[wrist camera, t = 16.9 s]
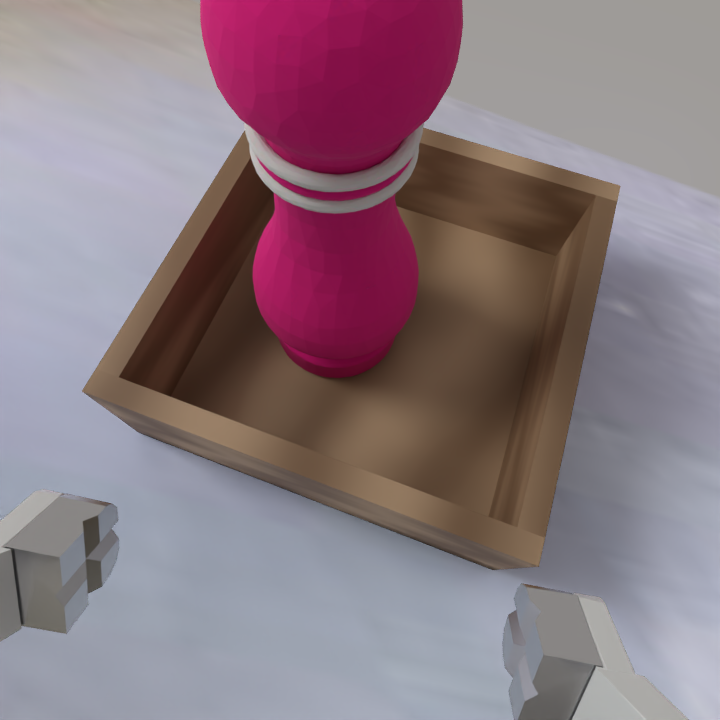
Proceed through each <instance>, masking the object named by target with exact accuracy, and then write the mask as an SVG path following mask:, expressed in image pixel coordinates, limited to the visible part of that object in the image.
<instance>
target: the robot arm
mask: <svg viewBox="0 0 720 720" xmlns="http://www.w3.org/2000/svg"><path fill="white" fill-rule="evenodd" d="M117 521H118V512H117V507H116V506H115V505H113V504H111V503H107V502H102V501H98V500H93V499H89V498H84V497H80V496H75V495H71V494H63V493H59V492H54V491H50V490H46V489H41V490H38V491H35V492H34V493H32V494H31V495H30V496H29V497H28V498H27V499H25V500H24V501H23V502H22V503H21V504H20V505H18V506H17V507H16V508H15V509H14V510H13V511H11V512H10V513H9V514H8V515H7V516H6V517H4V518H3V519H2V520H1V521H0V642H1V641H2V640H4V639H6V638H7V637H9V636H10V635H12V634H14V633H15V632H17V631H18V630H20V629H21V628H22V627H21V626H25V627H31V628H37V629H43V630H48V631H54V632H60V633H65V634H67V633H68V631H69V630H70V629H71V627H72V626H73V625H74V623H75V622H76V621H77V619H78V618H79V617H80V615H81V614H82V613H83V611H84V610H85V609H86V607H87V606H88V593H90V592H92V591H94V590H96V589H98V588H100V587H102V586H103V584H104V583H105V581H106V580H107V579H108V577H109V576H110V574H111V572H112V570H113V567H114V565H115V563H116V561H117V556H118V551H119V538H118V537H117V535H116V534H115V532H114V531H113V530H112V527H113V526H114V525H115V524H116V523H117ZM514 601H515V606H516V610H515V611H514V612H512V613H511V614H509V615H508V617H507V620H506V624H505V627H504V633H503V642H502V646H503V659H504V666H505V669H506V670H507V671H508V673H509V674H510V675H511V676H512V678H513V680H512V683H511V685H510V688H509V695H510V701H511V707H512V712H513V718H514V720H689V719H688V718H687V717H686V716H684V715H683V714H682V713H681V712H680V711H679V710H678V709H677V708H676V707H675V706H674V705H673V704H672V703H671V702H670V701H669V700H668V699H667V698H666V697H665V696H664V695H663V694H662V693H661V692H660V691H659V690H658V689H657V688H656V687H655V686H653V685H652V684H651V683H650V682H649V681H648V680H647V679H646V678H645V677H644V676H641V675H636V674H635V672H634V670H633V667H632V665H631V663H630V660H629V658H628V656H627V653H626V651H625V649H624V646H623V644H622V642H621V639H620V637H619V635H618V632H617V630H616V628H615V625H614V623H613V621H612V618H611V616H610V614H609V611H608V609H607V607H606V604H605V602H604V601H603V600H602V599H601V598H600V597H595V596H590V595H584V594H578V593H570V592H565V591H560V590H554V589H549V588H544V587H538V586H533V585H528V584H522V583H521V584H520V586H519V587H518V588H517V591H516V594H515V597H514Z"/></svg>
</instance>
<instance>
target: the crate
mask: <svg viewBox="0 0 720 720" xmlns="http://www.w3.org/2000/svg"><path fill="white" fill-rule="evenodd" d="M619 190H620V186H619V185H616V184H612V183H609V182H606V181H602V180H599V179H595V178H592V177H589V176H585V175H582V174H579V173H575V172H572V171H568V170H565V169H562V168H558V167H555V166H551V165H548V164H545V163H541V162H538V161H534V160H531V159H528V158H524V157H521V156H517V155H514V154H511V153H507V152H504V151H500V150H497V149H494V148H490V147H487V146H483V145H480V144H477V143H473V142H470V141H466V140H463V139H460V138H456V137H453V136H449V135H446V134H443V133H439V132H436V131H432V130H429V129H426V128H423V133H422V137H421V140H420V143H419V153H418V159H417V163H416V165H415V168H414V170H413V172H412V174H411V176H410V178H409V179H408V180H407V181H406V183H405V184H404V185H403V186H402V188H401V189H400V190H399V191H398V192H396V193H395V202H396V207H397V209H398V211H399V214H400V216H401V218H402V220H403V222H404V224H405V226H406V228H407V229H408V231H409V233H410V235H411V237H412V241H413V244H414V247H415V252H416V256H417V261H418V268H419V277H418V289H417V296H416V301H415V305H414V308H413V310H412V313H411V315H410V317H409V319H408V320H407V322H406V323H405V325H404V326H403V328H402V329H401V330H400V331H399V332H398V334H397V335H396V336H395V339H394V342H393V344H392V346H391V348H390V350H389V352H388V353H387V354H386V356H385V357H384V358H383V359H382V360H381V361H380V362H379V363H378V364H376V365H375V366H374V367H372V368H371V369H369V370H367V371H365V372H363V373H361V374H358V375H355V376H351V377H343V378H330V377H323V376H319V375H315V374H313V373H310V372H308V371H306V370H304V369H303V368H301V367H300V366H298V365H297V364H295V363H294V362H293V361H292V360H291V359H290V358H289V356H288V355H287V354H286V352H285V351H284V349H283V347H282V346H281V344H280V341H279V339H278V337H277V336H276V335H275V333H274V332H273V331H272V330H271V329H270V328H269V326H268V325H267V323H266V322H265V320H264V318H263V317H262V315H261V313H260V310H259V308H258V305H257V302H256V297H255V291H254V284H253V264H254V259H255V254H256V250H257V246H258V242H259V240H260V238H261V235H262V233H263V231H264V229H265V227H266V226H267V224H268V223H269V221H270V219H271V218H272V216H273V214H274V211H275V203H274V192H273V191H272V190H271V189H270V188H269V187H267V186H266V185H265V184H264V182H263V181H262V180H261V178H260V177H259V175H258V174H257V172H256V170H255V167H254V165H253V162H252V159H251V155H250V148H249V142H248V140H247V137H246V133H245V131H244V132H243V134H242V136H241V137H240V139H239V140H238V142H237V144H236V145H235V147H234V148H233V150H232V152H231V153H230V155H229V156H228V158H227V160H226V161H225V163H224V164H223V166H222V168H221V169H220V171H219V172H218V174H217V176H216V177H215V179H214V180H213V182H212V184H211V185H210V187H209V188H208V190H207V192H206V193H205V195H204V196H203V198H202V200H201V201H200V203H199V204H198V206H197V208H196V209H195V211H194V212H193V214H192V216H191V217H190V219H189V220H188V222H187V224H186V225H185V227H184V229H183V230H182V232H181V233H180V235H179V237H178V238H177V240H176V241H175V243H174V245H173V246H172V248H171V249H170V251H169V253H168V254H167V256H166V257H165V259H164V261H163V262H162V264H161V265H160V267H159V269H158V270H157V272H156V273H155V275H154V277H153V278H152V280H151V281H150V283H149V285H148V286H147V288H146V289H145V291H144V293H143V294H142V296H141V297H140V299H139V301H138V302H137V304H136V305H135V307H134V309H133V310H132V312H131V313H130V315H129V317H128V318H127V320H126V321H125V323H124V325H123V326H122V328H121V329H120V331H119V333H118V334H117V336H116V337H115V339H114V341H113V342H112V344H111V345H110V347H109V349H108V350H107V352H106V353H105V355H104V357H103V358H102V360H101V361H100V363H99V365H98V366H97V368H96V369H95V371H94V373H93V374H92V376H91V377H90V379H89V381H88V382H87V384H86V385H85V387H84V389H83V390H82V392H84V393H85V394H86V395H88V396H89V397H91V398H92V399H93V400H95V401H96V402H97V403H99V404H100V405H102V406H103V407H104V408H106V409H107V410H109V411H110V412H111V413H113V414H114V415H115V416H117V417H118V418H120V419H121V420H122V421H124V422H125V423H126V424H128V425H129V426H131V427H132V428H133V429H135V430H136V431H137V432H139V433H141V434H144V435H147V436H149V437H152V438H154V439H157V440H159V441H162V442H165V443H167V444H170V445H172V446H175V447H177V448H180V449H183V450H185V451H188V452H190V453H193V454H196V455H198V456H201V457H203V458H206V459H208V460H211V461H214V462H216V463H219V464H221V465H224V466H226V467H229V468H232V469H234V470H237V471H239V472H242V473H244V474H247V475H250V476H252V477H255V478H257V479H260V480H262V481H265V482H268V483H270V484H273V485H275V486H278V487H280V488H283V489H286V490H288V491H291V492H293V493H296V494H299V495H301V496H304V497H306V498H309V499H311V500H314V501H317V502H319V503H322V504H324V505H327V506H329V507H332V508H335V509H337V510H340V511H342V512H345V513H347V514H350V515H353V516H355V517H358V518H360V519H363V520H365V521H368V522H371V523H373V524H376V525H378V526H381V527H383V528H386V529H389V530H391V531H394V532H396V533H399V534H402V535H404V536H407V537H409V538H412V539H414V540H417V541H420V542H422V543H425V544H427V545H430V546H432V547H435V548H438V549H440V550H443V551H445V552H448V553H450V554H453V555H456V556H458V557H461V558H463V559H466V560H468V561H471V562H474V563H476V564H479V565H481V566H484V567H486V568H489V569H492V570H499V569H512V568H526V567H539V563H540V559H541V554H542V549H543V545H544V540H545V536H546V531H547V526H548V522H549V517H550V512H551V508H552V503H553V498H554V494H555V489H556V484H557V480H558V475H559V470H560V466H561V461H562V456H563V452H564V447H565V442H566V438H567V433H568V428H569V424H570V419H571V414H572V410H573V405H574V400H575V396H576V391H577V386H578V382H579V377H580V372H581V368H582V363H583V358H584V354H585V349H586V344H587V340H588V335H589V330H590V326H591V321H592V316H593V312H594V307H595V302H596V298H597V293H598V288H599V284H600V279H601V274H602V270H603V265H604V260H605V256H606V251H607V246H608V242H609V237H610V232H611V228H612V223H613V218H614V214H615V209H616V204H617V200H618V195H619Z"/></svg>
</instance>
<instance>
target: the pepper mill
mask: <svg viewBox="0 0 720 720" xmlns="http://www.w3.org/2000/svg"><path fill="white" fill-rule="evenodd" d="M200 17H201V28H202V36H203V41H204V46H205V49H206V53H207V57H208V60H209V64H210V67H211V70H212V73H213V76H214V78H215V81H216V84H217V87H218V88H219V90H220V92H221V93H222V95H223V96H224V98H225V100H226V101H227V103H228V104H229V106H230V107H231V108H232V109H233V110H234V112H235V113H236V114H237V115H238V117H239V118H240V119H241V120H242V121H244V127H245V133H246V137H247V140H248V142H249V148H250V155H251V159H252V162H253V165H254V167H255V170H256V172H257V174H258V175H259V177H260V178H261V180H262V181H263V182H264V184H265V185H266V186H267V187H269V188H270V189H271V190H272V191H273V192H274V203H275V211H274V214H273V216H272V218H271V219H270V221H269V223H268V224H267V226H266V227H265V229H264V231H263V233H262V235H261V238H260V240H259V242H258V246H257V250H256V254H255V259H254V264H253V284H254V291H255V297H256V302H257V305H258V308H259V310H260V313H261V315H262V317H263V318H264V320H265V322H266V323H267V325H268V326H269V328H270V329H271V330H272V331H273V332H274V333H275V335H276V336H277V337H278V339H279V341H280V344H281V346H282V347H283V349H284V351H285V352H286V354H287V355H288V356H289V358H290V359H291V360H292V361H293V362H294V363H295V364H297V365H298V366H300V367H301V368H303V369H304V370H306V371H308V372H310V373H313V374H315V375H319V376H323V377H330V378H343V377H351V376H355V375H358V374H361V373H363V372H365V371H367V370H369V369H371V368H372V367H374V366H375V365H376V364H378V363H379V362H380V361H381V360H382V359H383V358H384V357H385V356H386V354H387V353H388V352H389V350H390V348H391V346H392V344H393V342H394V339H395V336H396V335H397V334H398V332H399V331H400V330H401V329H402V328H403V326H404V325H405V323H406V322H407V320H408V319H409V317H410V315H411V313H412V310H413V308H414V305H415V301H416V296H417V289H418V277H419V268H418V261H417V256H416V252H415V247H414V244H413V241H412V237H411V235H410V233H409V231H408V229H407V228H406V226H405V224H404V222H403V220H402V218H401V216H400V214H399V211H398V209H397V207H396V202H395V193H396V192H398V191H399V190H400V189H401V188H402V186H403V185H404V184H405V183H406V181H407V180H408V179H409V178H410V176H411V174H412V172H413V170H414V168H415V165H416V163H417V159H418V153H419V143H420V140H421V137H422V133H423V125H424V122H425V121H426V120H428V119H429V117H430V116H431V114H432V113H433V111H434V110H435V108H436V107H437V105H438V103H439V102H440V100H441V98H442V97H443V95H444V93H445V92H446V90H447V89H448V87H449V85H450V83H451V80H452V77H453V74H454V71H455V68H456V64H457V61H458V55H459V49H460V44H461V37H462V28H463V13H462V0H201V1H200Z"/></svg>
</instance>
